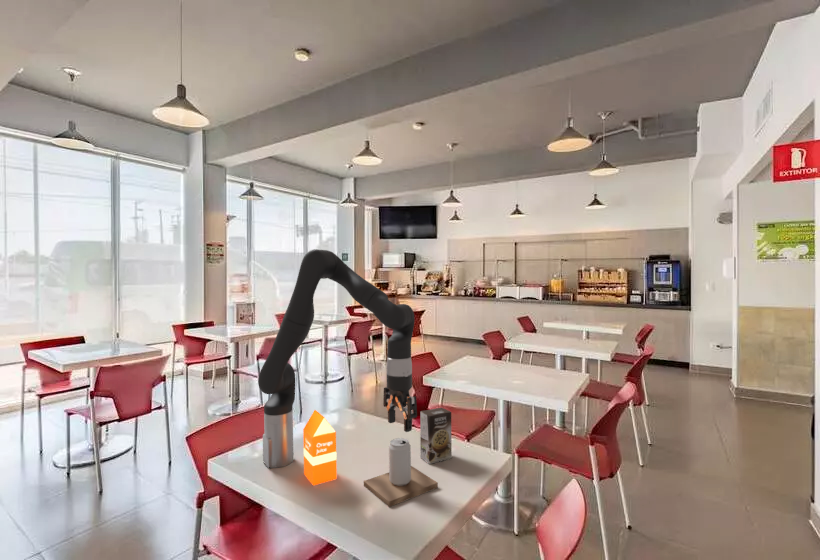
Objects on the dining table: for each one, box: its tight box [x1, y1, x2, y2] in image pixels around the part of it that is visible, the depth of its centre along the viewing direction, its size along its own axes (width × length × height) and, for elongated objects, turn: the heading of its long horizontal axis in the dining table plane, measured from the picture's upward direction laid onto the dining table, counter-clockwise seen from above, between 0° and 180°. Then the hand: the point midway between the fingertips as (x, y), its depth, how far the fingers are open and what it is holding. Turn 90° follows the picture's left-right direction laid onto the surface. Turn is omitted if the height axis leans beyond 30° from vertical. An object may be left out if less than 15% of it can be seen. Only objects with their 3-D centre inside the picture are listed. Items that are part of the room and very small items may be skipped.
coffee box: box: [419, 407, 453, 465], centre depth 142 cm, size 9×6×16 cm
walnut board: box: [363, 465, 439, 508], centre depth 123 cm, size 17×14×2 cm
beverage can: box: [388, 437, 412, 486], centre depth 123 cm, size 6×6×12 cm
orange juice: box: [302, 409, 338, 486], centre depth 130 cm, size 8×9×20 cm
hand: (399, 426), depth 123 cm, fingers open, 8 cm apart
